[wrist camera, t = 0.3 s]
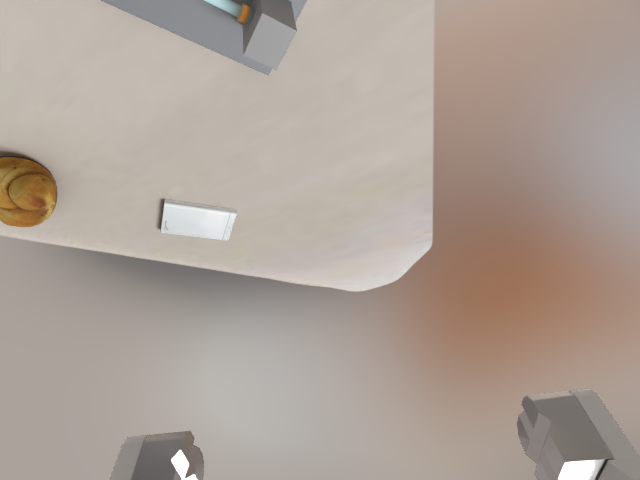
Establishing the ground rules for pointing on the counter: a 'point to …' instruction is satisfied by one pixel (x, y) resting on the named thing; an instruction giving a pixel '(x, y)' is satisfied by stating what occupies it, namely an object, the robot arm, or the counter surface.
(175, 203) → the hard drive
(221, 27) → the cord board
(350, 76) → the counter surface
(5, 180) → the bread roll
